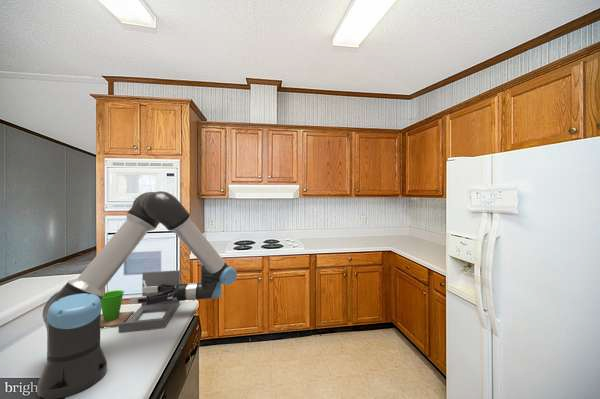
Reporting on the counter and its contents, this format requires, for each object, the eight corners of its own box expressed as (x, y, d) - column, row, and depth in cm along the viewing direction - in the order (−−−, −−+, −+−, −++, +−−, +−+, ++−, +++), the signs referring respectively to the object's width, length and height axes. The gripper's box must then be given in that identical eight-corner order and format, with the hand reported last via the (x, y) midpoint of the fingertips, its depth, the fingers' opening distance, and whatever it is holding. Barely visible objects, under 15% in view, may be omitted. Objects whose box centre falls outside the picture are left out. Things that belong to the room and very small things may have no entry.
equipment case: (179, 304, 128) (180, 270, 129) (164, 328, 104) (165, 285, 104) (143, 307, 125) (143, 272, 125) (118, 332, 100) (119, 288, 100)
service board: (133, 313, 118) (134, 311, 118) (120, 326, 105) (120, 324, 105) (102, 316, 115) (102, 313, 115) (84, 330, 102) (84, 327, 102)
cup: (113, 323, 105) (114, 297, 106) (92, 323, 105) (93, 297, 106) (128, 314, 114) (128, 290, 115) (109, 314, 114) (109, 290, 115)
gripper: (180, 310, 105) (123, 315, 100) (192, 290, 129) (147, 293, 125) (181, 292, 105) (124, 296, 100) (192, 276, 129) (147, 278, 125)
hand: (136, 295), depth 112 cm, fingers open, 13 cm apart
